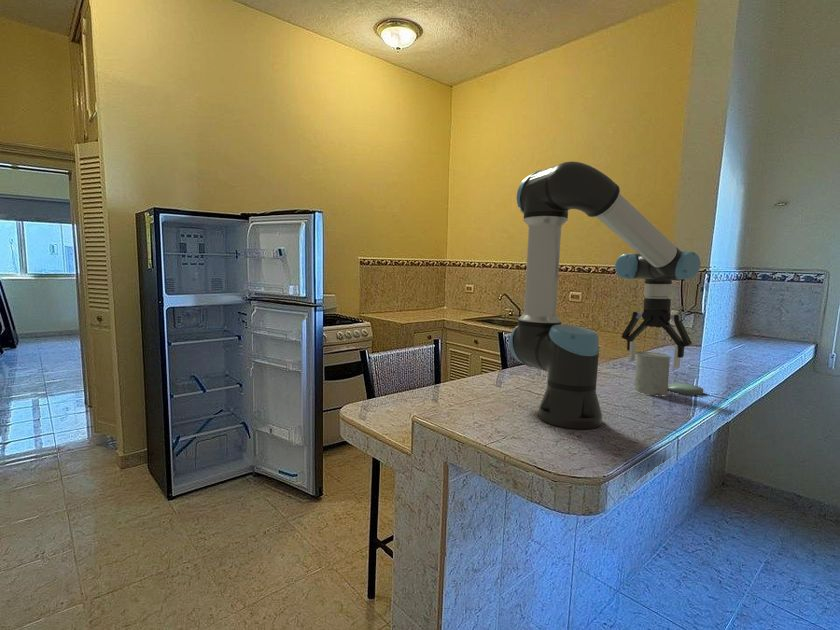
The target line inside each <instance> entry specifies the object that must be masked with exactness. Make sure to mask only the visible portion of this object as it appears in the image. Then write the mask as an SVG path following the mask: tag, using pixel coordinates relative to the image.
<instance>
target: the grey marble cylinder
mask: <svg viewBox="0 0 840 630" xmlns="http://www.w3.org/2000/svg"><path fill="white" fill-rule="evenodd" d="M635 361H636V362H635V375H634V376H635V377H634V389H635V390H636V391H638V392H640V393H644V394H649V395H658V396H657V397H663V396H662V395H667V394H668V383H669V377H670V375H669V374H670V361H671V355H670V354H666V353H660V352H651V351H649V352H648V351H638V352H637V353H636V358H635ZM640 393H639V394H640ZM649 395H648V396H649ZM667 396H668V395H667Z"/></svg>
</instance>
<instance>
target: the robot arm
mask: <svg viewBox="0 0 840 630" xmlns="http://www.w3.org/2000/svg"><path fill="white" fill-rule="evenodd" d="M516 191H517V192H516V204H517V207H518V208H519V210H520V212H521V213H522V214H523V221H524V222H525V223H526V225H527V226H528V235H527V253H526V255H527V256H526V269H525V270H526V271H525V289H524V306H523V307H524V309H523V313H522V314H521V316H519V317H518V319H517V325H516V326H515V327H514V328H513V330H512V331H511V333H510V335H509V340H508V346H509V351H510V353H511V355H512V356H513V358H514V359H515V360H516V361H517V362H519V363H521V364H523V365H525V366H526V367H529V368H535V369H538V370H541V371H543V372H547V384H546V389H545V391H544V393H543V394H544V395H543V396H542V398H541V402H540V404H539V406H538V418H539V419H540V420H541V421H543V422H545V423H547V424H549V425H553V426H556V427H560V428H565V429H572V430H573V429H574V430H591V429H592V430H593V429H595V428H596V429H597V428H598V427H601V425H602V423H603V413H602V409H601V407H600V402H599V399H598V395H597V383H598V382H597V380H598V366H599V356H600V347H599V346H600V345H599V340H600V339H599V335H598V334H597V333H596V332H595V331H593V330H592V329H589V328H587V327H582V326H578V325H577V326H576V325H571V324H562V320H561V319H560V318H559V316H557V306H558V305H557V304H558V303H557V302H558V289H559V288H558V287H559V286H558V285H559V272H560V271H559V269H560V255H561V238H562V236H561V235H562V226H563V225H565V223H567V222H568V221H569V220H568V219H569V218H568V217H569V210H577V211H581V212H583V213H584V214H585V215H587V217H590V218H597V219H598V220H599V221H600V222H601V223H603V224H604V225H605V227H607V228H608V229H609V230H611V232H613V233H614V234H615V235H616V236H617V237H618V238H620V239H621V240H622V241H623V242H624V243H625V244H626V245H628V246H629V247H630V248H631V249H632V250H634V251H635V253H633V252H632V253H630V252H629V253H623V254H621V255H619V256H618V257H617V259H616V261H615V264H614V270H615V273H616V275H617V276H618V277H620V278H621V279H627V280H637V279H638V280H644V290H643V296H644V297H645V298H644V299H643V311H642V312H640V311H633V312H632V317H631V320H630V321H629V323H628V324H627V326H626V328H625V329H624V331H623V333H622V335H621V339H624V340H626V347H627V348H626V350H627V351H628V352H629V354H628V361H629V362H634V361H636V351H637V350H636V349H637V341H636V340H635V339H636V338H637V337H638V336H639V335H640V334H642V332H643V331H644V330H645V329H647V328H648V327H649V328H652V327H654V328H658V329H659V328H662V329H663V330H664V331H665V332H666V333H667V334H668V335H669V337H670V338H671V339H672V341H673V342H674V343H675V345H677V346H675V347H674V354H673V369H679V368H681V367H680V365H681V358H683V357H685V356H684V355H685V347H689V346H691V345H692V341H691V339H690V336H689V333H688V332H687V330H686V327H685V326H684V323H683V321H682V317H683V316H682V315H681V313H677V314H671V307H672V306H671V305H672V300H671V297H672V288H673V287H672V284H673V280H678V281H681V280H691V279H693V278H695V277H696V276H697V275H698V273H699V271H700V269H701V258H700V256H699V255H698V254H697V253H696V252H695V251H689V250H684V251H682V250H680V248H678V246H676V245H675V244H674V243H673V242H672V241H671V240H670V239H668V237H666V236H665V235H664V234H663V232H661V231H660V230H659V229H658V228H657V227H656V226H655V225H654V224H653V223H652V222H651V221H650V220H649V219H647V218H646V217H645V216H644V215H643V214H642V213H641V212H640V211H639V210H638V209H637V208H636V207H635V206H634V205H633V204H631V203H630V202H629V200H627V199H626V198H625V197H624V196H623V195H622V194H621V188H620V185H618V184H617V183H616V182H615V181H613V179H612V178H610V177H609V176H608V175H606V174H605V173H603V172H602V171H600V170H599V169H597V168H595V167H593V166H592V165H589V164H586V163H585V162H584V163H583V162H579V161H572V160H571V161H564V162H562V163H559V164H558V165H553V166H551V167H548V168H545V169H540V170H537V171H534V172H533V173H531V174H529V175H527V176H526V177H525V178H524V179H523V180H522V181H521V182H520V184H519V186H518V187H517V190H516ZM641 317H642V319H643V321H642V322H641V323H640V325H638V327H636V328H635V326H636V325H637V323H638V322H639V320H640V319H641ZM670 320H672V322H674V324H675V328H676V330H677V331H675V330H674V328H673V327H672V325H671V324H670ZM634 328H635V329H634ZM677 332H678V333H677Z"/></svg>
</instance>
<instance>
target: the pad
mask: <svg viewBox="0 0 840 630" xmlns="http://www.w3.org/2000/svg"><path fill="white" fill-rule="evenodd" d="M668 391H670V392H669V393H671V392H674V393H673V394H675V393H679V394H678V395H680V394H685V395H684V396H687V395H701V394H703V395H704V387H700V386H697V385H694V384H689V383H683V382H668ZM668 391H667V392H668ZM701 396H702V395H701Z"/></svg>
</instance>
